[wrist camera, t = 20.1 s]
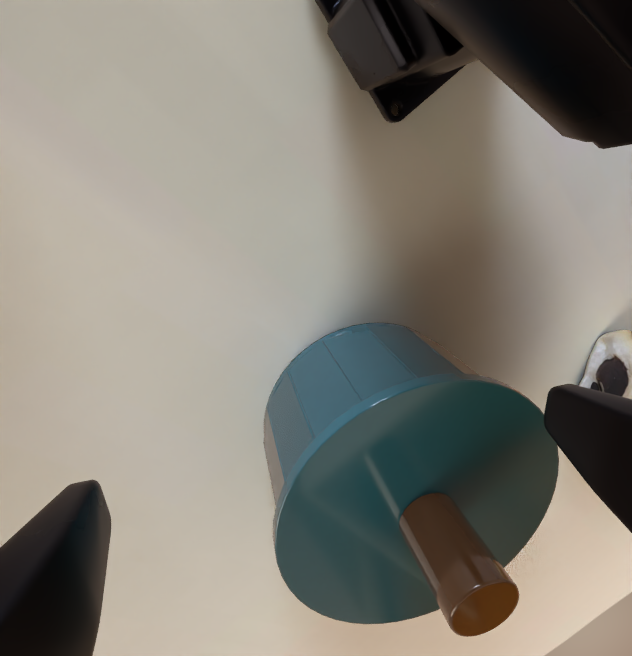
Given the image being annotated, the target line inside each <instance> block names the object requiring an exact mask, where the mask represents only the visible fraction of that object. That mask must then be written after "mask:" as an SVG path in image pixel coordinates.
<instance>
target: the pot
mask: <svg viewBox="0 0 632 656" xmlns="http://www.w3.org/2000/svg"><path fill="white" fill-rule="evenodd" d="M449 373H461V374H475V375H479V374H478V373H476V372H475V371H474V370H472V369H471V368H470V367H469V366H467V365H466V364H465V363H463V362H462V361H461V360H459V359H458V358H457V357H455V356H454V355H453V354H452V353H450V352H449V351H448V350H446V349H445V348H444V347H442V346H441V345H440V344H438V343H437V342H435V341H433V340H431V339H429V338H428V337H426V336H424V335H423V334H421V333H419V332H418V331H415V330H413V329H410V328H408V327H405V326H401V325H397V324H390V323H366V324H360V325H354V326H351V327H347V328H344V329H340V330H338V331H336V332H333V333H331V334H329V335H327V336H325V337H323V338H321V339H320V340H318V341H316V342H314V343H313V344H312V345H310V346H309V347H308V348H306V349H305V350H304V351H302V352H301V353H300V354H299V355H298V356H297V357H296V358H295V359H294V360H293V361H292V362H291V363H290V364H289V366H288V367H287V368H286V369H285V370H284V372H283V373H282V375H281V376H280V378H279V379H278V381H277V382H276V384H275V386H274V388H273V390H272V392H271V394H270V397H269V400H268V403H267V406H266V411H265V417H264V448H265V453H266V459H267V464H268V469H269V474H270V479H271V484H272V489H273V494H274V499H275V504H277V501H278V499H279V496H280V493H281V490H282V487H283V485H284V483H285V481H286V479H287V477H288V475H289V473H290V471H291V469H292V467H293V466H294V465H295V463H296V462H297V460H298V459H299V457H300V456H301V454H302V453H303V451H304V450H305V449H306V448H307V447H308V446H309V444H310V443H311V442H312V441H313V440H314V439H315V438H316V436H317V435H318V434H319V433H320V432H321V431H323V430H324V429H325V428H326V427H327V426H328V425H329V424H330V423H331V422H332V421H334V420H335V419H336V418H337V417H339V416H340V415H341V414H343V413H344V412H345V411H347V410H348V409H350V408H351V407H352V406H354V405H355V404H357V403H359V402H361V401H362V400H364V399H366V398H368V397H369V396H371V395H373V394H375V393H377V392H379V391H382V390H384V389H386V388H388V387H391V386H393V385H396V384H399V383H402V382H405V381H408V380H411V379H414V378H419V377H425V376H430V375H435V374H449ZM479 376H480V375H479Z"/></svg>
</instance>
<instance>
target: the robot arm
mask: <svg viewBox="0 0 632 656" xmlns="http://www.w3.org/2000/svg"><path fill="white" fill-rule="evenodd" d="M315 1H316V3H317V5H318V6H319V8H320V10H321V11H322V13H323V15H324V16H325V18H326V20H327V22H328V23H329V24H328V35H329V37H330V39H331V41H332V42H333V44H334V46H335V47H336V49H337V51H338V52H339V54H340V56H341V57H342V59H343V61H344V62H345V64H346V66H347V67H348V69H349V71H350V73H351V74H352V76H353V78H354V79H355V81H356V83H357V84H358V86H359V88H360V89H361V90H365V91H368V92H369V93H370V95H371V97H372V98H373V100H374V102H375V104H376V105H377V107H378V109H379V110H380V112H381V114H382V115H383V117H384V119H385V120H386V121H388V122H390V123H395V122H399V121H401V120H402V119H404V118H405V117H406V116H407V115H408V114H409V113H411V112H412V111H413V110H414V109H415V108H416V107H417V106H419V105H420V104H421V103H422V102H423V101H424V100H426V99H427V98H428V97H429V96H430V95H431V94H433V93H434V92H435V91H436V90H437V89H438V88H440V87H441V86H442V85H443V84H444V83H445V82H447V81H448V80H449V79H450V78H451V77H452V76H454V75H455V74H456V73H457V72H458V71H459V70H461V69H462V68H463V67H464V66H465V65H466V64H469V63H471V62H474V61H476V60H480V61H481V62H482V63H483V64H484V65H485V66H486V67H487V68H489V69H490V70H491V71H492V72H493V73H494V74H495V75H496V76H497V77H498V78H500V79H501V80H502V81H503V82H504V83H505V84H506V85H507V86H508V87H509V88H510V89H512V90H513V91H514V92H515V93H516V94H517V95H518V96H519V97H520V98H521V99H523V100H524V101H525V102H526V103H527V104H528V105H529V106H530V107H531V108H532V109H534V110H535V111H536V112H537V113H538V114H539V115H540V116H541V117H542V118H543V119H545V120H546V121H547V122H548V123H549V124H550V125H551V126H552V127H553V128H554V129H555V130H557V131H558V132H559V133H560V134H561V135H562V136H565V137H569V138H572V139H576V140H580V141H584V142H593V143H594V144H595V145H596V146H598V147H599V148H602V149H605V148H611V147H618V146H624V145H629V144H632V0H315ZM393 104H395V105H396V106H397V107H398V113H397V115H396V116H395V115H393V114H392V112H391V106H392V105H393ZM543 421H544V426H545V428H546V430H547V432H548V433H549V434H550V436H551V437H552V438H553V440H554V441H555V442H556V443H557V445H558V446H559V447H560V449H561V450H562V451H563V453H564V454H565V455H566V456H567V458H568V459H569V460H570V462H571V463H572V464H573V465H574V467H575V468H576V469H577V471H578V472H579V473H580V474H581V476H582V477H583V478H584V480H585V481H586V482H587V483H588V485H589V486H590V487H591V488H592V490H593V491H594V492H595V493H596V494H597V495H598V497H599V498H600V499H601V500H602V501H603V502H604V503H605V504H606V505H607V507H608V508H609V509H610V510H611V511H612V512H613V513H614V514H615V515H616V516H617V517H618V519H619V520H620V521H621V522H622V523H623V524H624V525H625V526H626V527H627V528H628V529H629V531H630V532H631V533H632V399H629V398H625V397H621V396H617V395H613V394H609V393H605V392H601V391H597V390H593V389H589V388H585V387H581V386H577V385H573V384H565V385H561V386H556V387H553V388H551V389H550V391H549V393H548V397H547V402H546V408H545V413H544V420H543ZM110 535H111V516H110V513H109V510H108V507H107V504H106V501H105V498H104V495H103V492H102V489H101V486H100V484H99V483H98V482H97V481H95V480H88V481H83V482H78V483H74V484H71V485H69V486H67V487H66V488H65V489H64V490H63V491H62V492H61V493H60V494H58V495H57V496H56V497H55V498H54V499H53V500H52V501H51V502H50V503H49V504H48V505H46V506H45V507H44V508H43V509H42V510H41V511H40V512H39V513H38V514H37V515H35V516H34V517H33V518H32V519H31V520H30V521H29V522H28V523H27V524H26V525H25V526H23V527H22V528H21V529H20V530H19V531H18V532H17V533H16V534H15V535H14V536H12V537H11V538H10V539H9V540H8V541H7V542H6V543H5V544H4V545H3V546H2V547H0V656H92V655H93V651H94V646H95V642H96V637H97V633H98V628H99V623H100V616H101V609H102V601H103V593H104V584H105V576H106V568H107V560H108V551H109V543H110Z"/></svg>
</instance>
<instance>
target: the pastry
mask: <svg viewBox="0 0 632 656" xmlns="http://www.w3.org/2000/svg"><path fill="white" fill-rule="evenodd" d="M579 386H581V387H585V388H589V389H593V390H597V391H601V392H605V393H609V394H613V395H617V396H621V397H625V398H629V399H632V332H631V331H629V330H618V331H615V332H609V333H606V334H604V335H602V336H601V337H600V338H599V339H598V340H597V341H596V344H595V346H594V348H593V350H592V352H591V354H590V356H589V359H588V362H587V365H586V369H585V374H584V376H583V378H582V380H581V382H580V384H579Z"/></svg>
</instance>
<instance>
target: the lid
mask: <svg viewBox="0 0 632 656" xmlns="http://www.w3.org/2000/svg"><path fill="white" fill-rule="evenodd" d="M543 420H544V414H543V413H542V411H541V410H540V409H539V407H537V406H536V405H535V404H534V403H533V402H532V401H531V400H530V399H529V398H527V397H526V396H525V395H523V394H522V393H520V392H519V391H517V390H516V389H514V388H512V387H511V386H509V385H507V384H505V383H503V382H500V381H498V380H495V379H492V378H489V377H484V376H479V375H475V374H461V373H449V374H435V375H430V376H425V377H419V378H414V379H411V380H408V381H405V382H402V383H399V384H396V385H393V386H391V387H388V388H386V389H384V390H382V391H379V392H377V393H375V394H373V395H371V396H369V397H368V398H366V399H364V400H362V401H361V402H359V403H357V404H355V405H354V406H352V407H351V408H350V409H348V410H347V411H345V412H344V413H343V414H341V415H340V416H339V417H337V418H336V419H335V420H334V421H332V422H331V423H330V424H329V425H328V426H327V427H326V428H325V429H324V430H323V431H321V432H320V433H319V434H318V435H317V436H316V438H315V439H314V440H313V441H312V442H311V443H310V444H309V446H308V447H307V448H306V449H305V450H304V451H303V453H302V454H301V456H300V457H299V459H298V460H297V462H296V463H295V465H294V466H293V467H292V469H291V471H290V473H289V475H288V477H287V479H286V481H285V483H284V485H283V487H282V490H281V493H280V496H279V499H278V501H277V504H276V510H275V515H274V520H273V541H274V548H275V554H276V560H277V564H278V567H279V570H280V573H281V576H282V578H283V579H284V581H285V583H286V584H287V586H288V588H289V589H290V590H291V592H292V593H293V594H294V595H295V596H296V597H297V598H298V599H299V600H300V601H301V602H302V603H304V604H305V605H306V606H307V607H309V608H310V609H312V610H314V611H316V612H318V613H319V614H321V615H324V616H327V617H329V618H332V619H335V620H339V621H344V622H349V623H359V624H383V623H391V622H398V621H403V620H407V619H412V618H415V617H419V616H422V615H425V614H428V613H431V612H433V611H436V610H438V609H441V611H442V613H443V615H444V617H445V619H446V621H447V623H448V624H449V626H450V628H451V629H452V630H453V631H454V632H455V633H456V634H458V635H460V636H467V637H468V636H476V635H480V634H483V633H486V632H488V631H490V630H492V629H494V628H495V627H497V626H498V625H500V624H501V623H502V622H504V621H505V620H506V619H507V618H508V617H509V616H510V615H511V613H512V612H513V611H514V609H515V607H516V605H517V603H518V600H519V591H518V588H517V586H516V584H515V583H514V582H513V580H512V579H511V578H510V576H509V575H508V573H507V572H506V571H505V569H504V567H505V566H506V565H507V564H508V563H509V562H510V561H512V560H513V559H514V558H515V557H516V555H517V554H518V553H519V552H520V551H521V550H522V548H523V547H524V546H525V545H526V544H527V542H528V541H529V540H530V538H531V537H532V535H533V534H534V533H535V531H536V530H537V528H538V526H539V525H540V523H541V521H542V519H543V518H544V516H545V514H546V511H547V509H548V507H549V505H550V503H551V500H552V497H553V494H554V491H555V487H556V482H557V477H558V466H559V456H558V446H557V443H556V442H555V441H554V440H553V438H552V437H551V436H550V434H549V433H548V432H547V430H546V428H545V426H544V421H543Z"/></svg>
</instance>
